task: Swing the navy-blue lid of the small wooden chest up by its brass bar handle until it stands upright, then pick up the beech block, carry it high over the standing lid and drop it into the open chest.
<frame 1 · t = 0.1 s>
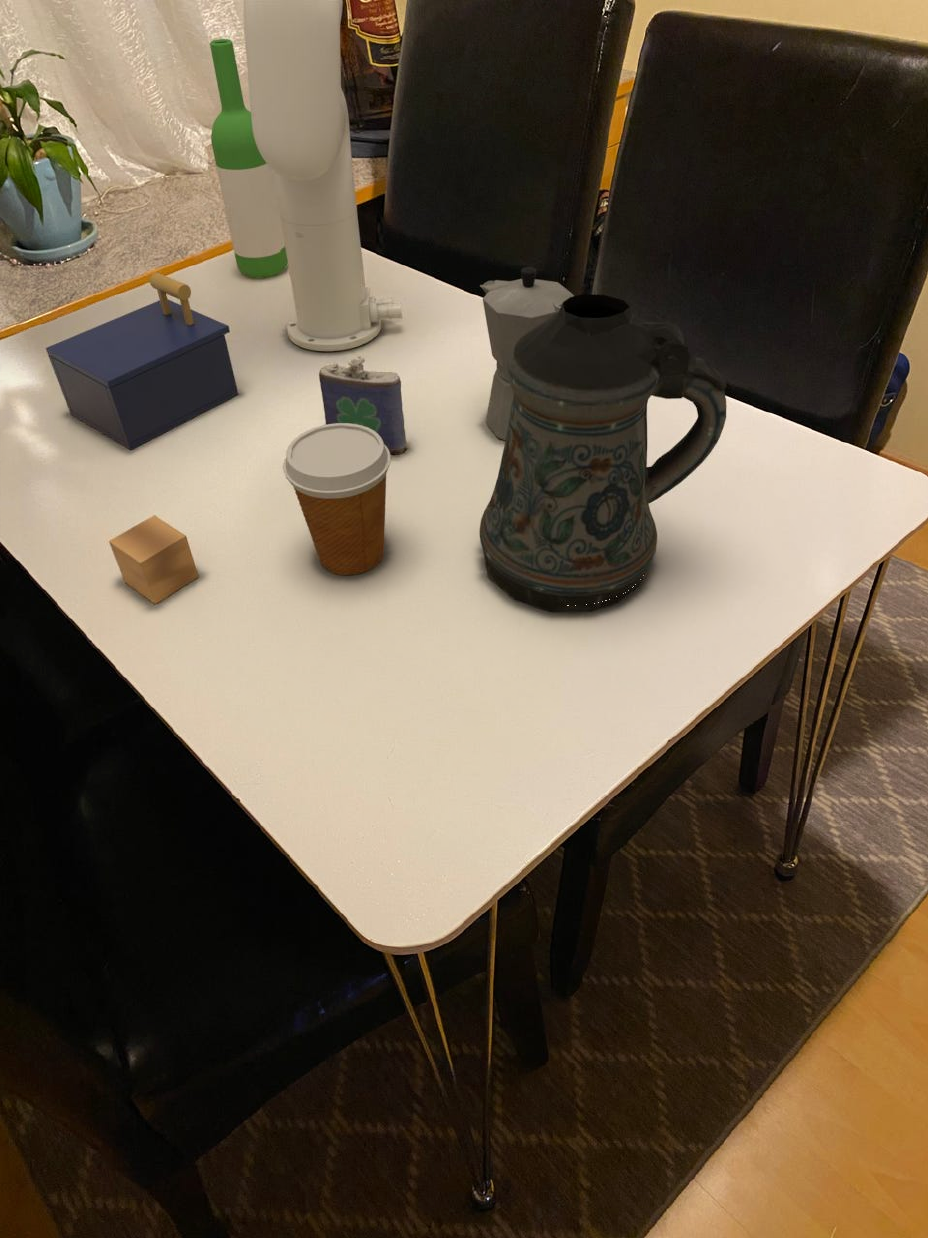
chest: (155, 404, 109), on the table
wine bottle: (264, 270, 138), on the table
disposable coffee cup: (352, 556, 87), on the table
flask: (367, 447, 101), on the table
beer stein: (580, 555, 86), on the table
block: (161, 579, 85), on the table
lid: (133, 319, 102), point 11 cm above the table, hinge at 0.0°
coffeepot: (533, 428, 103), on the table
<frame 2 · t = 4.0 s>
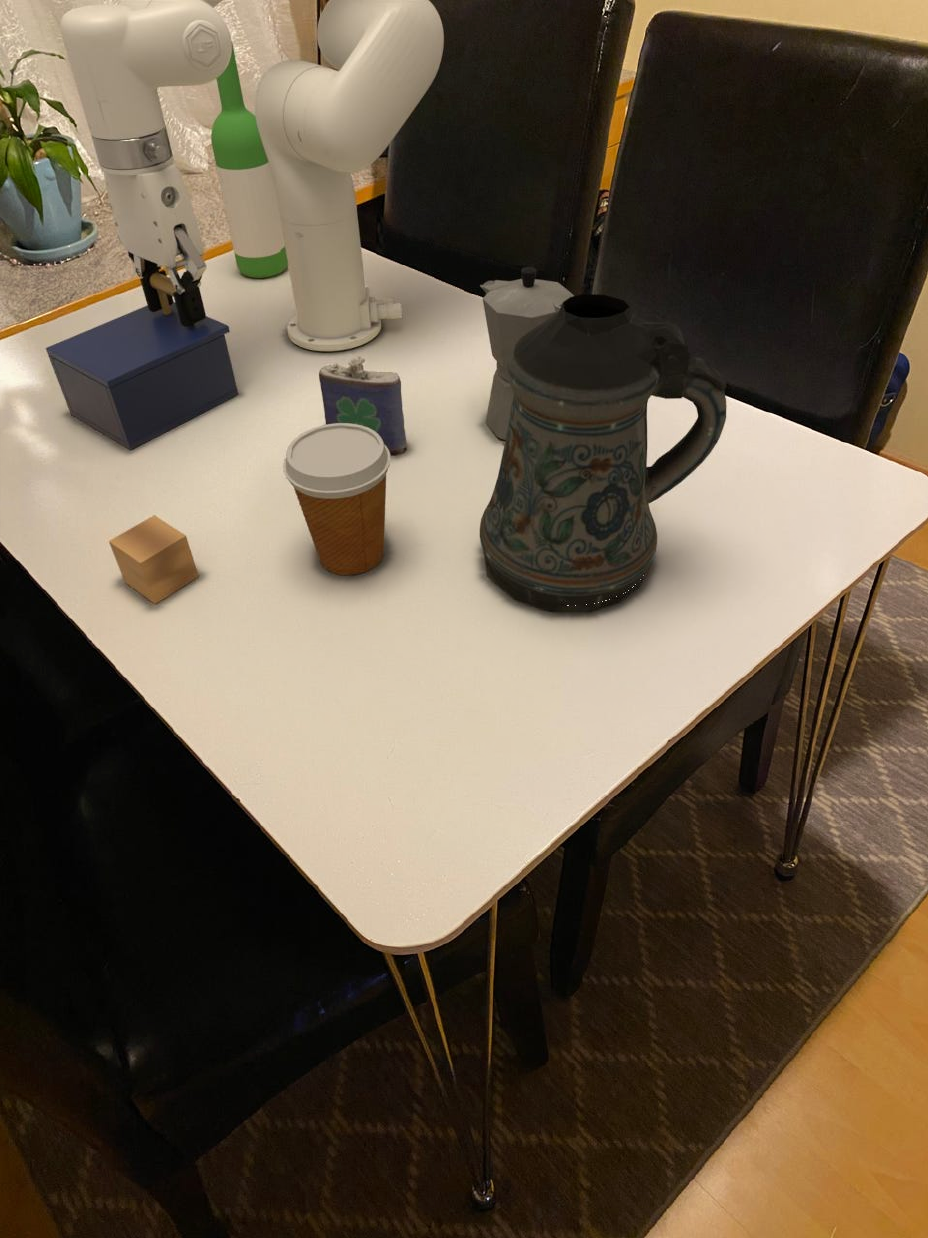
hand: (177, 313, 106), 9 cm above the table, tool pointing down, fingers closed on lid, 5 cm apart
lid: (133, 319, 102), point 11 cm above the table, hinge at 0.0°, touching gripper
everything else where it was.
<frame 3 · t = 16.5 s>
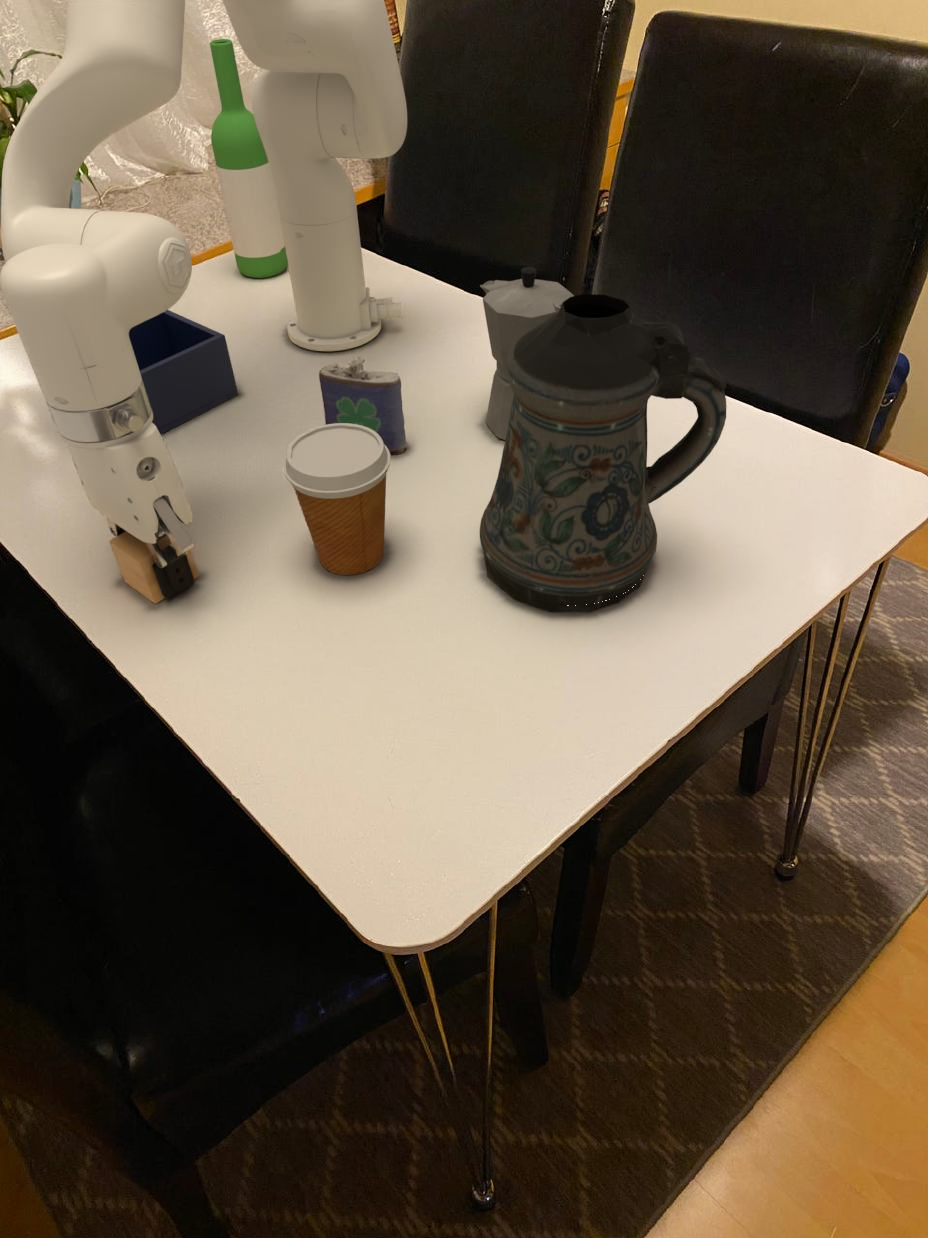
hand: (160, 575, 85), 0 cm above the table, tool pointing down, fingers closed on block, 5 cm apart
block: (161, 579, 85), on the table, touching gripper
lid: (39, 296, 93), point 17 cm above the table, hinge at 81.0°
everything else where it was.
when the fingers open (12 cm above the table, at t = 27.0 s): block drops 11 cm, resting on chest.
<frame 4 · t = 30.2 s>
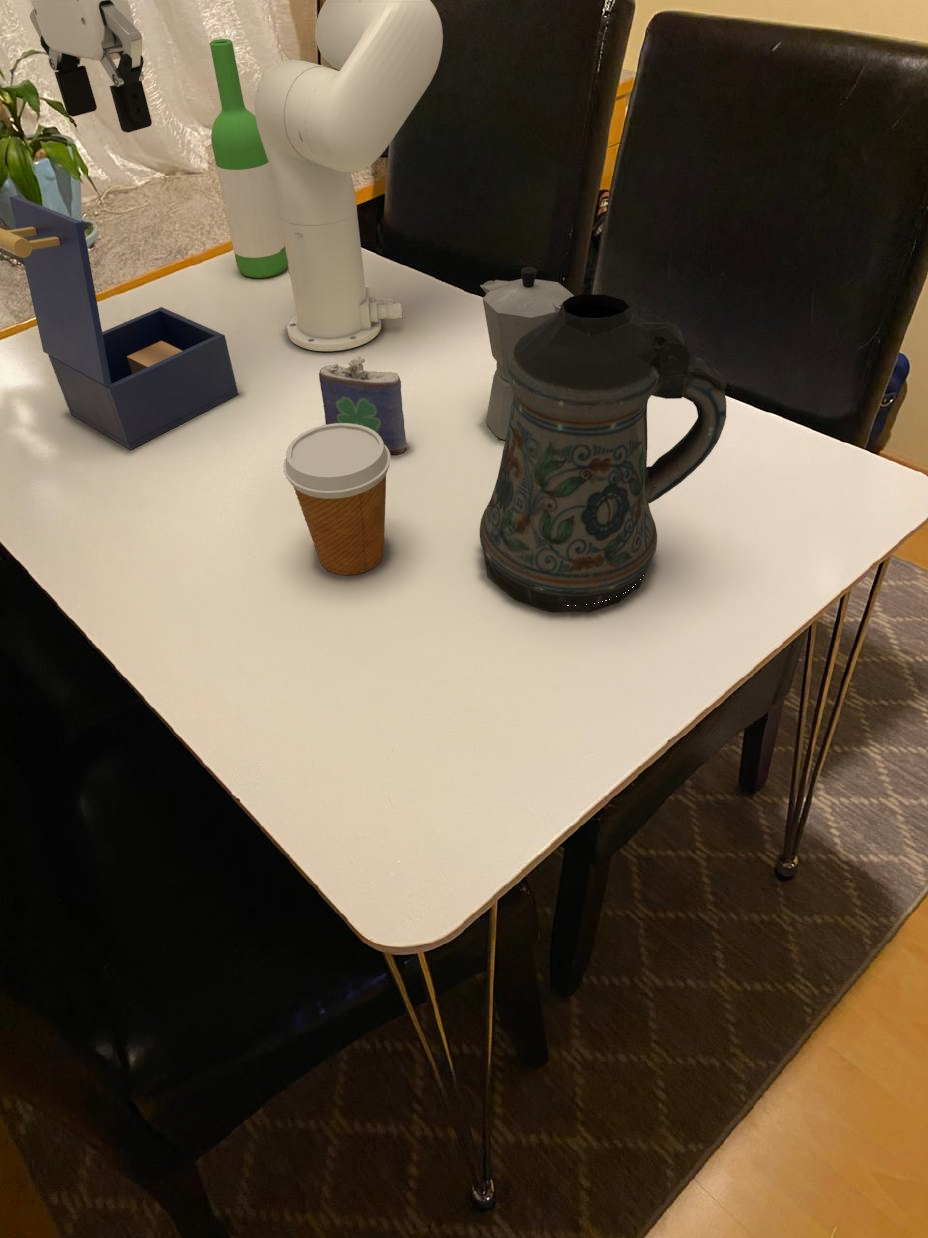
hand: (109, 120, 90), 30 cm above the table, tool pointing down, fingers open, 9 cm apart
block: (167, 392, 110), point 1 cm above the table, touching chest
everything else where it was.
at the end: lid at +81° (first picture: +0°); block inside the target area in the chest (2.0 cm from its centre), point 0.8 cm above the chest's base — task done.
